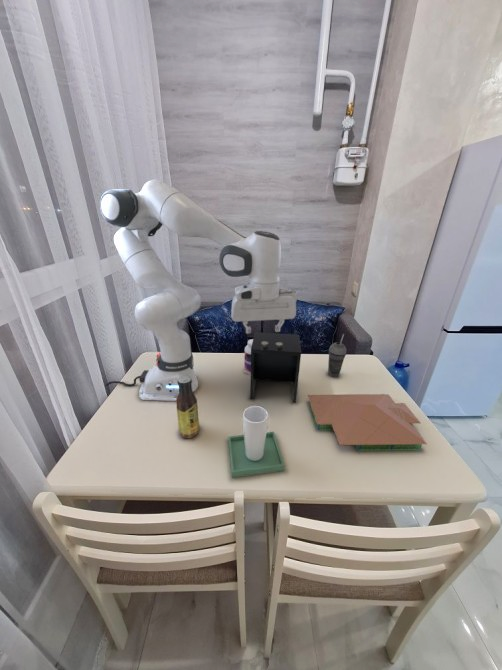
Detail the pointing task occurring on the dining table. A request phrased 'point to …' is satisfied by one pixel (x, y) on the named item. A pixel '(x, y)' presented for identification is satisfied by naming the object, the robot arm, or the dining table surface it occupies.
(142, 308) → the robot arm
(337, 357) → the beverage cup
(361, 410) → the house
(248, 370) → the pill bottle
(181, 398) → the sauce bottle
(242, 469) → the tray
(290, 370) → the black coffee maker
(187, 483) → the dining table surface
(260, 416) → the drinking glass
